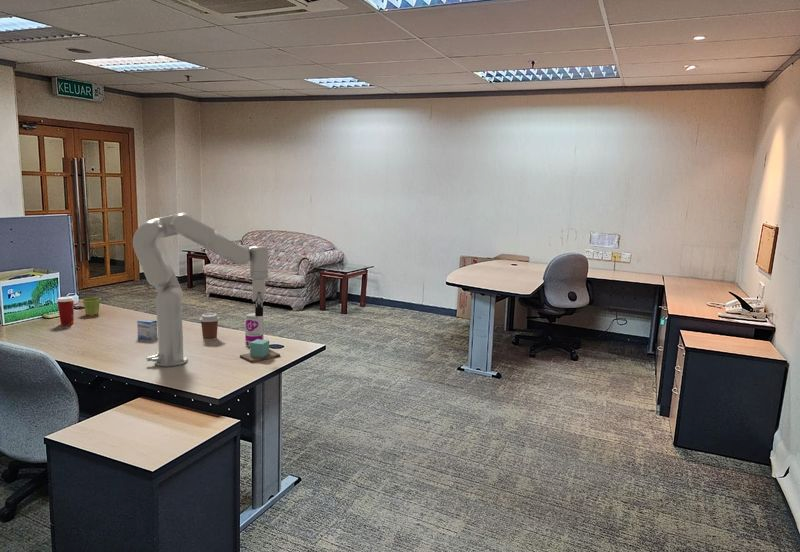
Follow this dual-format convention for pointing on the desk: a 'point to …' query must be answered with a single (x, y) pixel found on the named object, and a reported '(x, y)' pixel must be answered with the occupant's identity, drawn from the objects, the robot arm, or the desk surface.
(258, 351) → the teal cube
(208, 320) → the coffee cup
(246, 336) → the supplement can
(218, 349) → the desk surface
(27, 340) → the desk surface
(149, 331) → the medicine box
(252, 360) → the post board
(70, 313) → the paper cup
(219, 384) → the desk surface
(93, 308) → the plant pot
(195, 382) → the desk surface
